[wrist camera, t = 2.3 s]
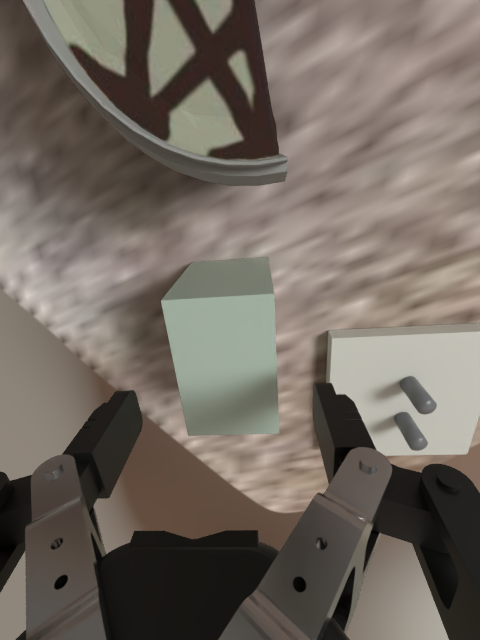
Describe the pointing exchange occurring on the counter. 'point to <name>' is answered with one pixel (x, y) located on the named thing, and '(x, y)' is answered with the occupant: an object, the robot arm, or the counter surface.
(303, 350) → the counter surface
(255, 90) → the food container
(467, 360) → the stub plate
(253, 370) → the block
